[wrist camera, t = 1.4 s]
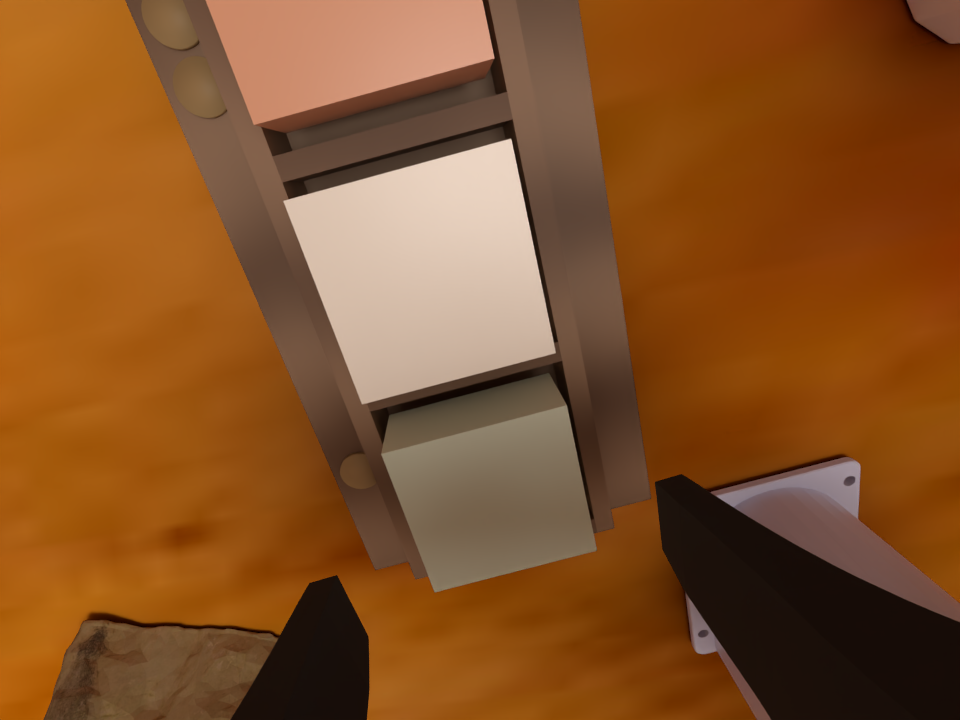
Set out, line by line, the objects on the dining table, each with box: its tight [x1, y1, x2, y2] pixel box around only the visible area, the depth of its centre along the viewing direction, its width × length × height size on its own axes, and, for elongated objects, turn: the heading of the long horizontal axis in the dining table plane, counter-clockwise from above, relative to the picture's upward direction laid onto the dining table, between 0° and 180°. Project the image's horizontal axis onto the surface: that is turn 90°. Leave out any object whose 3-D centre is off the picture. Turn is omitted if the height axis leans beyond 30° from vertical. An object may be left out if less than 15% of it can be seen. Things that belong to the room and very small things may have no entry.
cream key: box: [283, 139, 556, 404], centre depth 12 cm, size 5×5×2 cm
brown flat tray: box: [125, 0, 651, 579], centre depth 15 cm, size 22×11×4 cm, turn 14°
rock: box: [44, 620, 278, 720], centre depth 19 cm, size 11×9×10 cm
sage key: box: [381, 373, 597, 592], centre depth 15 cm, size 5×5×2 cm
